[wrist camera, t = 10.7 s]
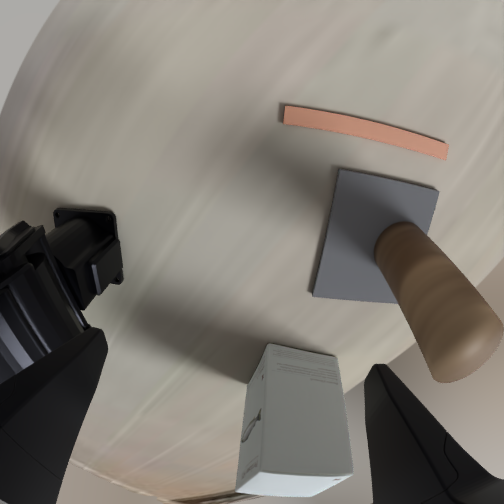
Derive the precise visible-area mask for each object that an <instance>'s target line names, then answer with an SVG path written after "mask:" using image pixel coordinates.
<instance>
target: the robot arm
mask: <svg viewBox="0 0 504 504" xmlns="http://www.w3.org/2000/svg"><path fill="white" fill-rule="evenodd" d="M58 213H59V215H58ZM53 216H54V222H55V229H54V230H52V231H51V232H49V233H48V234H47V235H45V229H44V227H43V225H40V226H37V227H31V226H29V225H28V224H27V223H26V222H25V221H21V222H18V223H17V224H15V225H14V226H12V227H11V228H9V229H8V230H7V231H5V232H4V233H3V234H1V235H0V504H56V501H57V498H58V494H59V491H60V487H61V484H62V480H63V477H64V474H65V471H66V468H67V465H68V462H69V459H70V456H71V453H72V450H73V447H74V445H75V442H76V439H77V436H78V434H79V431H80V428H81V426H82V423H83V421H84V418H85V415H86V413H87V410H88V408H89V405H90V403H91V401H92V398H93V396H94V393H95V391H96V388H97V385H98V382H99V379H100V375H101V372H102V369H103V366H104V362H105V359H106V356H107V353H108V344H107V341H106V338H105V335H104V332H103V330H102V329H99V328H95V327H91V326H90V324H88V323H87V321H86V319H85V318H84V316H83V314H82V312H81V310H85V309H86V308H87V306H88V305H89V304H90V302H91V301H92V300H93V299H94V297H95V296H96V295H101V294H102V293H103V291H104V290H105V289H106V287H107V286H108V285H109V284H110V283H111V284H117V285H120V284H121V283H122V282H123V279H124V278H123V271H122V268H123V263H122V256H121V248H120V241H119V239H118V232H117V223H116V216H115V214H114V213H113V212H108V211H95V210H82V209H67V208H57V209H56V210H54V212H53ZM108 217H110V218H111V221H110V220H109V219H108ZM116 277H117V278H118V279H119V280H118V279H117V278H116ZM364 392H365V393H364V394H365V424H366V432H367V439H368V449H369V458H370V468H371V478H372V491H373V504H504V480H502V479H499V478H497V477H494V476H493V475H491V474H490V473H489V472H487V471H486V470H485V469H484V468H483V467H482V466H481V465H480V464H479V463H478V462H477V461H476V460H474V459H473V458H472V457H471V456H470V455H469V454H468V453H467V452H466V451H465V450H464V449H463V448H462V447H461V446H460V445H459V444H458V443H457V442H456V441H455V440H454V439H453V437H452V436H451V435H450V434H449V433H448V432H446V430H445V429H444V427H443V426H442V425H441V424H440V423H439V422H438V421H437V420H436V418H434V416H433V415H432V414H431V413H430V412H429V411H428V410H427V408H425V406H424V405H423V404H422V403H421V402H420V401H419V400H418V399H417V398H416V396H415V395H414V394H413V393H412V392H411V391H410V390H409V389H408V388H407V387H406V385H405V384H404V383H403V382H402V381H401V380H400V379H399V378H398V377H397V376H396V375H395V373H394V372H393V371H392V370H391V369H390V368H389V367H388V366H387V365H386V364H374V365H373V366H372V368H371V370H370V372H369V373H368V375H367V377H366V379H365V382H364Z"/></svg>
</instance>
